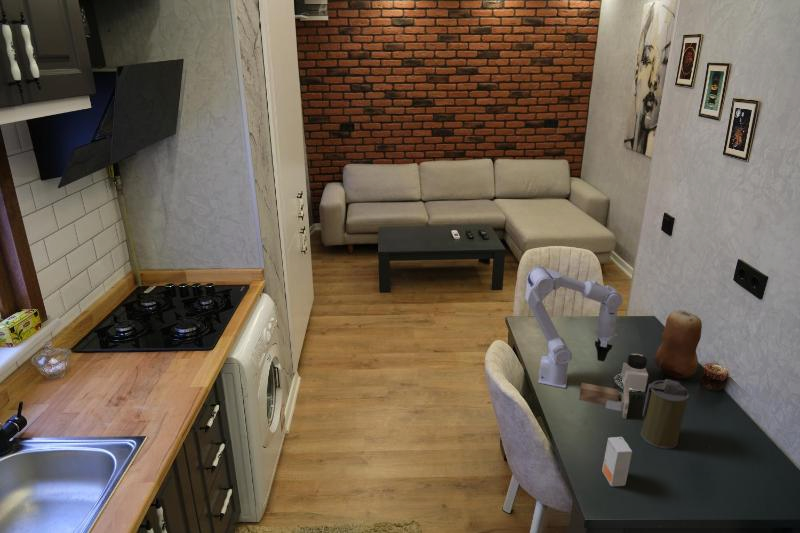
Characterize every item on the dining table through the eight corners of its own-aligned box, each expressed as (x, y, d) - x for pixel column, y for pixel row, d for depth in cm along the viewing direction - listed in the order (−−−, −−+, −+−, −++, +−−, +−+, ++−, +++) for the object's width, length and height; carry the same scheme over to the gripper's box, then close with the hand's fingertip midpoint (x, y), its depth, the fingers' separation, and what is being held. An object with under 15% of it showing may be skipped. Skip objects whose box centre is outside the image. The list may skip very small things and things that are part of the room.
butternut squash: (689, 368, 202) (704, 308, 192) (697, 388, 190) (713, 325, 180) (649, 362, 205) (662, 303, 196) (655, 381, 193) (668, 319, 184)
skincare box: (601, 471, 151) (607, 436, 147) (615, 470, 152) (622, 436, 147) (610, 487, 146) (617, 452, 141) (625, 486, 146) (633, 451, 142)
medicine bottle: (645, 392, 187) (651, 363, 182) (623, 390, 188) (629, 360, 184) (640, 381, 193) (646, 352, 189) (620, 379, 195) (625, 350, 190)
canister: (675, 430, 168) (688, 376, 161) (679, 452, 159) (693, 395, 151) (637, 423, 171) (649, 369, 164) (640, 444, 162) (652, 388, 155)
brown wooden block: (579, 400, 183) (580, 387, 181) (579, 394, 186) (581, 382, 184) (616, 407, 179) (618, 395, 177) (616, 402, 182) (618, 389, 180)
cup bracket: (605, 407, 179) (607, 400, 177) (606, 396, 184) (607, 389, 183) (622, 411, 177) (624, 404, 176) (622, 400, 182) (624, 392, 181)
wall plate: (622, 418, 174) (625, 402, 171) (622, 394, 186) (625, 379, 183) (625, 418, 173) (629, 403, 171) (625, 395, 185) (628, 380, 183)
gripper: (618, 332, 177) (612, 367, 182) (619, 314, 190) (613, 347, 195) (596, 328, 180) (591, 363, 185) (598, 310, 192) (593, 343, 197)
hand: (601, 355), depth 190 cm, fingers open, 7 cm apart
